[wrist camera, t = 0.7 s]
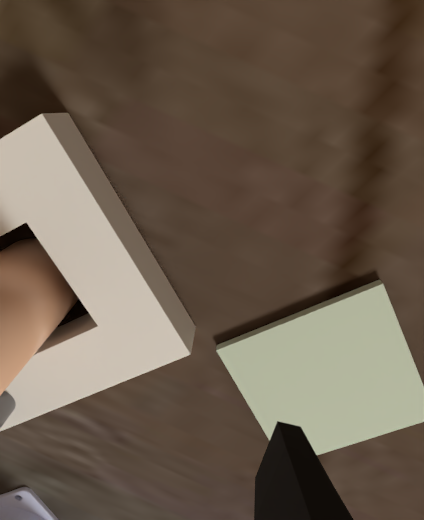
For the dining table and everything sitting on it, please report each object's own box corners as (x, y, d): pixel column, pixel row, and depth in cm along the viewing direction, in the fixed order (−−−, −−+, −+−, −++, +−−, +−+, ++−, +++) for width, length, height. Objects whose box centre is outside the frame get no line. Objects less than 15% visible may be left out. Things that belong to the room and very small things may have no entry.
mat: (283, 458, 24) (284, 465, 23) (216, 344, 21) (216, 350, 21) (431, 411, 22) (435, 417, 21) (379, 279, 19) (383, 283, 19)
